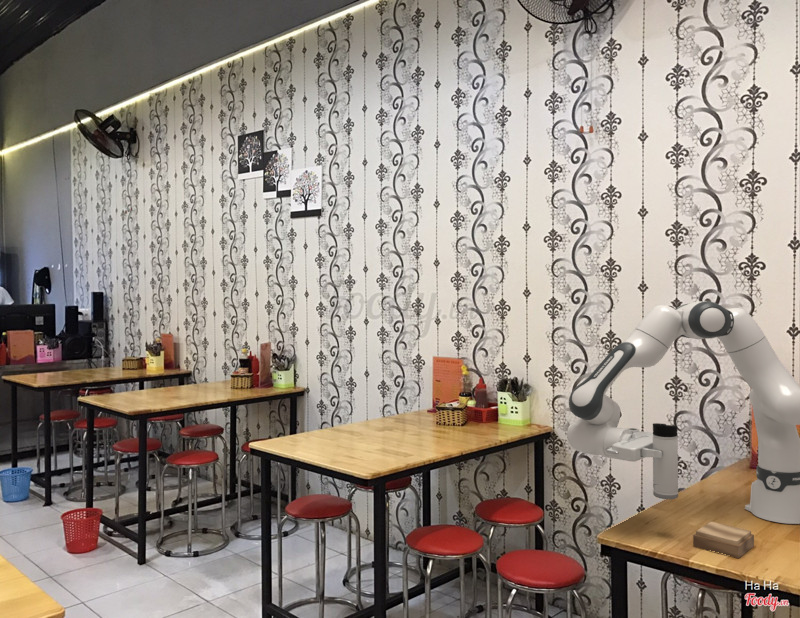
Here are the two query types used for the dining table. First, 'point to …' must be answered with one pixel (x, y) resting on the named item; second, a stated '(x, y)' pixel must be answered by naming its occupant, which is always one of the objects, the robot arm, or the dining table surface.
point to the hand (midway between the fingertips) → (668, 451)
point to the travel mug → (665, 461)
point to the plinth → (724, 539)
